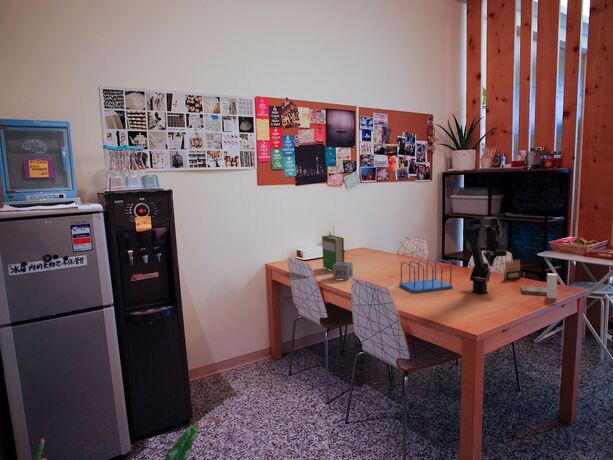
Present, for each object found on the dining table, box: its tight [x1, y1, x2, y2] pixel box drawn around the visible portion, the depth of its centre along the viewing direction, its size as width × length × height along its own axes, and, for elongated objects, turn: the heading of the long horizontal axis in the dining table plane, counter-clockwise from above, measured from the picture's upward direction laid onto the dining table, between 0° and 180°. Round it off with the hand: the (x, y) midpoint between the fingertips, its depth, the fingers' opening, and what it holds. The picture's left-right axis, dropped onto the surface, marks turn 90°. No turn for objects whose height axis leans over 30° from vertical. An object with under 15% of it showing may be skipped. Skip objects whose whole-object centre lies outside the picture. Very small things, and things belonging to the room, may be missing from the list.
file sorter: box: [398, 258, 454, 294], centre depth 235 cm, size 25×17×15 cm
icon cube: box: [332, 261, 354, 281], centre depth 264 cm, size 10×10×10 cm
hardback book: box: [321, 235, 345, 271], centre depth 289 cm, size 18×7×24 cm, turn 26°
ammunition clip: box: [503, 258, 522, 281], centre depth 246 cm, size 11×2×12 cm, turn 106°
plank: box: [520, 285, 547, 297], centre depth 216 cm, size 15×10×2 cm, turn 65°
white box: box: [545, 272, 558, 299], centre depth 211 cm, size 4×13×12 cm, turn 155°
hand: (490, 265), depth 231 cm, fingers closed
